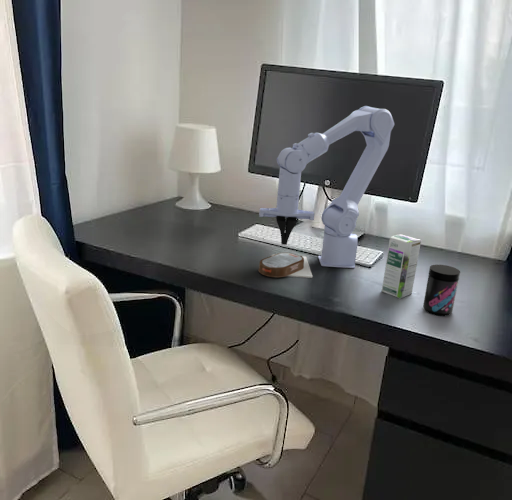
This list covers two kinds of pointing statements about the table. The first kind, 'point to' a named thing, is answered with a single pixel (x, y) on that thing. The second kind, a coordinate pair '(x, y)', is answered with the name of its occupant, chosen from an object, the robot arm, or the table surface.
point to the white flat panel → (303, 270)
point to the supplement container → (441, 290)
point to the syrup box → (401, 265)
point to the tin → (281, 265)
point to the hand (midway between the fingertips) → (284, 243)
